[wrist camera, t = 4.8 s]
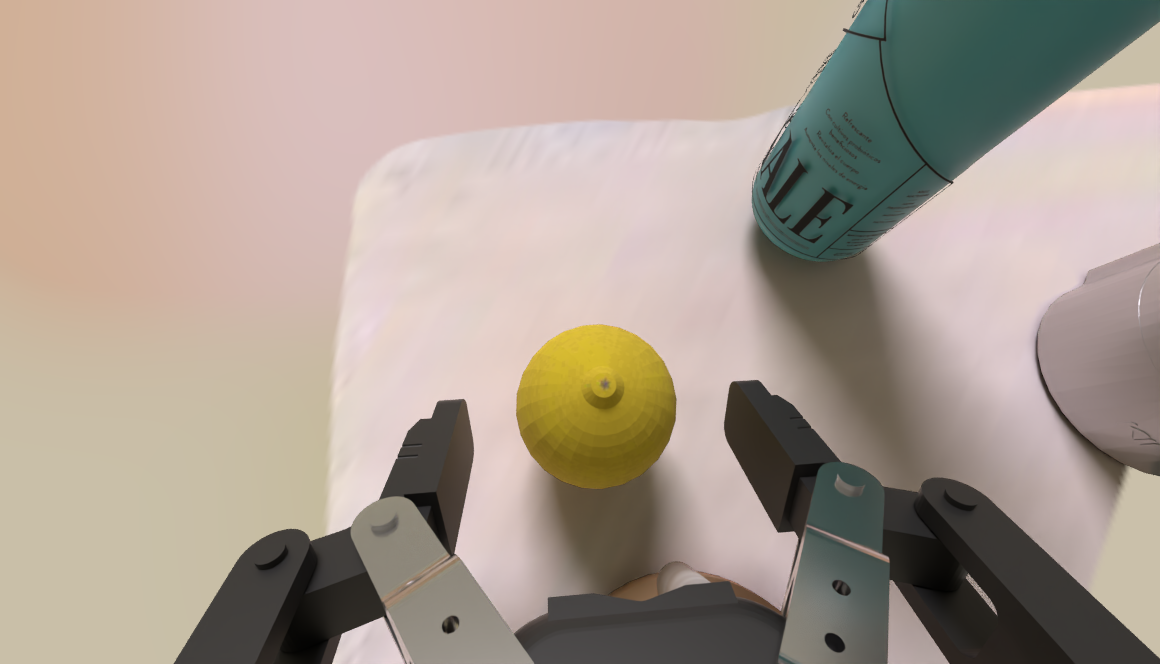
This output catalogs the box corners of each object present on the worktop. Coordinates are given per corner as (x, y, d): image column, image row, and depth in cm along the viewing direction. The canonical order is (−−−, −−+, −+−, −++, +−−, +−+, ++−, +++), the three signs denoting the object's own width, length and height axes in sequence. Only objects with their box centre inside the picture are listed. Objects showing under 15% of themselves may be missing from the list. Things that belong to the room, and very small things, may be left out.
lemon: (651, 488, 18) (711, 499, 11) (521, 482, 18) (488, 488, 11) (651, 362, 20) (702, 294, 13) (532, 355, 20) (511, 283, 13)
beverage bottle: (877, 212, 23) (2322, -1009, 4) (825, 307, 21) (2968, -1080, 2) (768, 152, 24) (1519, -1050, 5) (709, 238, 22) (1527, -1119, 3)
